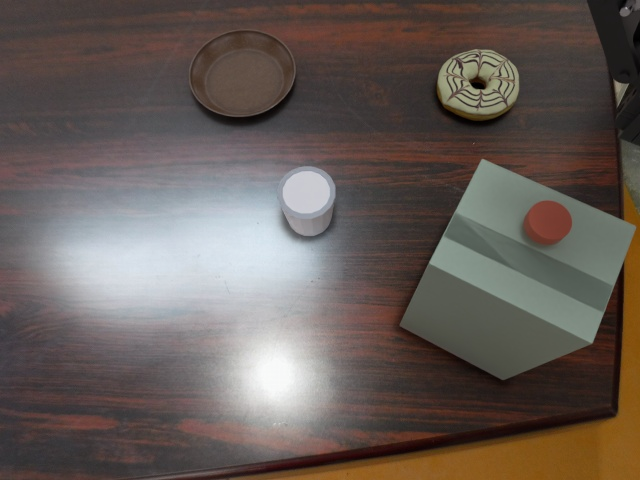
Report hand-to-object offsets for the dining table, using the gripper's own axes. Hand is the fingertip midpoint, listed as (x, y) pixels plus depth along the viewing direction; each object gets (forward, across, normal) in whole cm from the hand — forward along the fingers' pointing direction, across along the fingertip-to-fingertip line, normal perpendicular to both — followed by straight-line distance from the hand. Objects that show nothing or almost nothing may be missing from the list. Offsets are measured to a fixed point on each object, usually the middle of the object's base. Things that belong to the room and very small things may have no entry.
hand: (634, 131), depth 32 cm
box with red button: (+35, -1, -2) cm, 35 cm away
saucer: (+35, -42, +12) cm, 56 cm away
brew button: (+10, -1, -2) cm, 11 cm away
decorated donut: (+33, -13, +25) cm, 43 cm away
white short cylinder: (+35, -24, -2) cm, 42 cm away
